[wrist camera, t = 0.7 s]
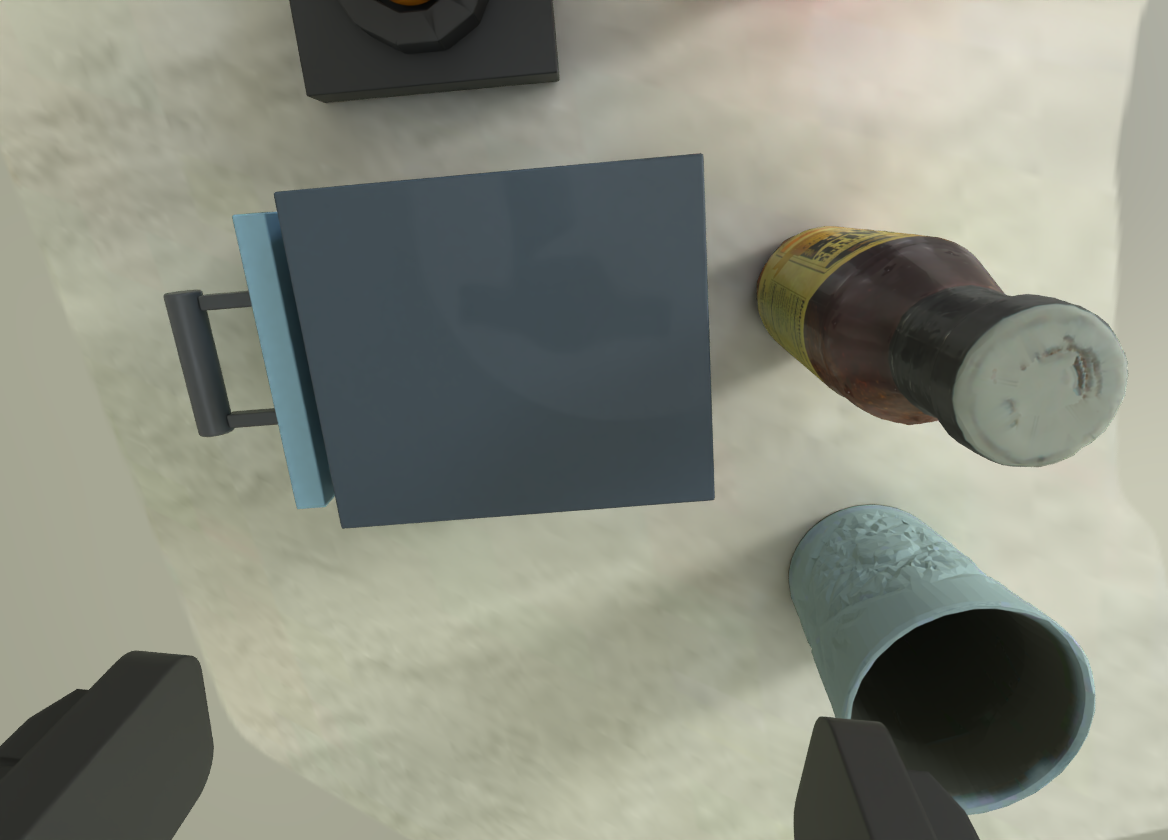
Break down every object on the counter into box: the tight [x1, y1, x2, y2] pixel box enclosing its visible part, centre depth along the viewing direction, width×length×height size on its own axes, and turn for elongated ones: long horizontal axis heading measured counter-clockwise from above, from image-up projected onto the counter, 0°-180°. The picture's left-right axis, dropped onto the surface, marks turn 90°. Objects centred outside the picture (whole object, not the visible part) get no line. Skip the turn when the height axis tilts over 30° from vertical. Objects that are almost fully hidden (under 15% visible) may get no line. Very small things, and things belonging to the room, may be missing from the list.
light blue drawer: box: [164, 212, 335, 509], centre depth 31 cm, size 18×11×9 cm, turn 95°
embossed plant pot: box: [789, 505, 1095, 815], centre depth 34 cm, size 10×10×12 cm
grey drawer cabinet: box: [274, 153, 715, 528], centre depth 31 cm, size 15×13×11 cm
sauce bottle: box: [757, 226, 1128, 467], centre depth 26 cm, size 6×6×20 cm
